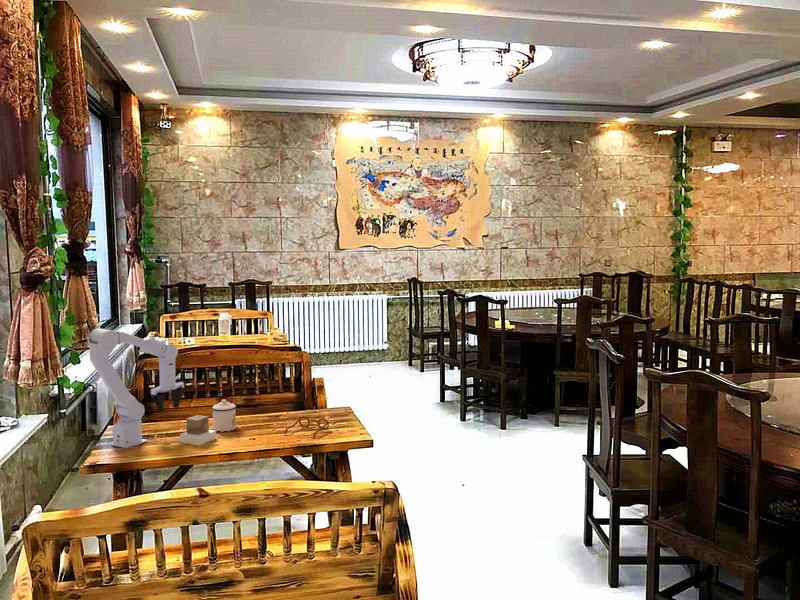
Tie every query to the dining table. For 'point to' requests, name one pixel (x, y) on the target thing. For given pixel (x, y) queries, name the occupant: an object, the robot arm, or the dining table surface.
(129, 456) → the dining table surface
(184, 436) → the cream block
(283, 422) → the dining table surface
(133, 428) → the robot arm
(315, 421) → the glasses
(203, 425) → the walnut cube
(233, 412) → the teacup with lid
